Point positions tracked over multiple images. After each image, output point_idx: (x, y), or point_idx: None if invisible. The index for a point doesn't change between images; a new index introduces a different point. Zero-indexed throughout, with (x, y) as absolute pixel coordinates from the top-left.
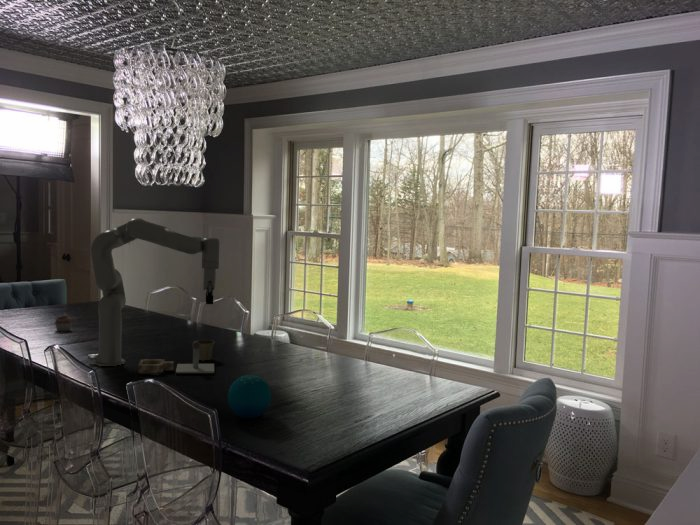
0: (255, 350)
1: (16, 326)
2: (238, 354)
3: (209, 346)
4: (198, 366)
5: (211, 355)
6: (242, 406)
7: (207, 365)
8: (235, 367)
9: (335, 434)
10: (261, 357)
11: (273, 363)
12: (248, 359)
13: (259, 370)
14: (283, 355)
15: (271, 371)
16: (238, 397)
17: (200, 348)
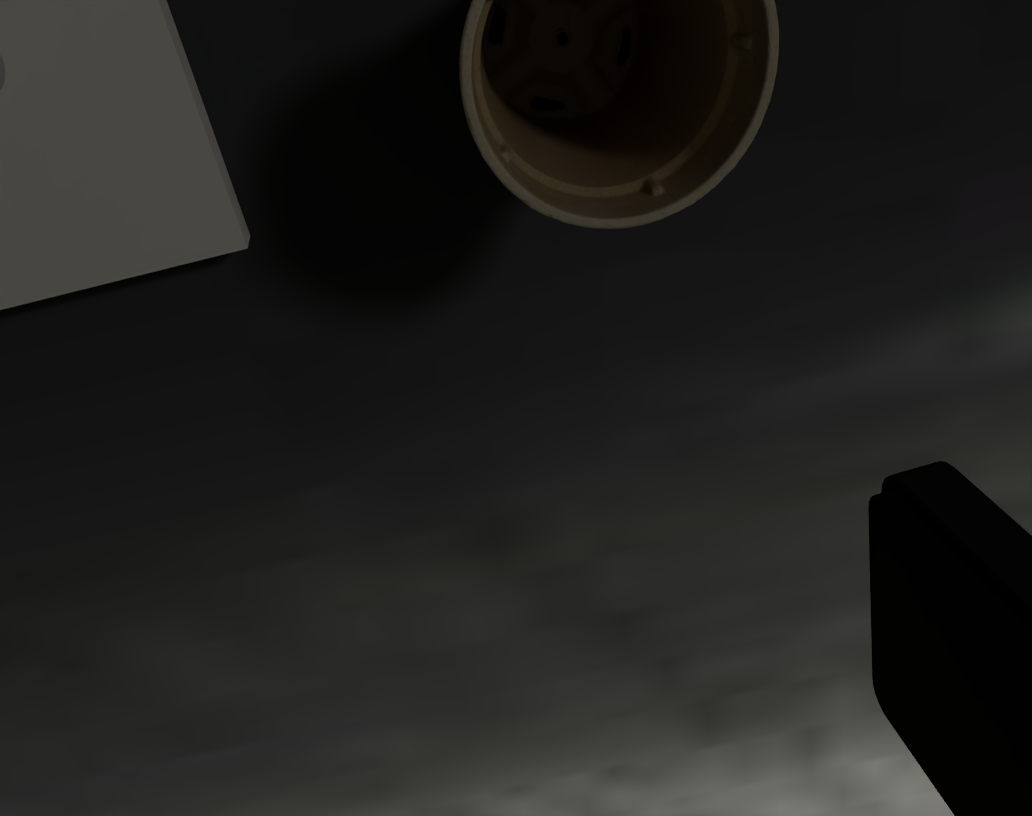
0: (991, 468)
1: None
2: (834, 356)
3: (511, 165)
4: (37, 91)
5: (576, 140)
6: None
7: (131, 193)
8: (297, 450)
9: None
10: (723, 571)
11: (523, 696)
12: (637, 488)
13: (252, 657)
14: (802, 701)
15: (250, 739)
16: None
17: (483, 22)
